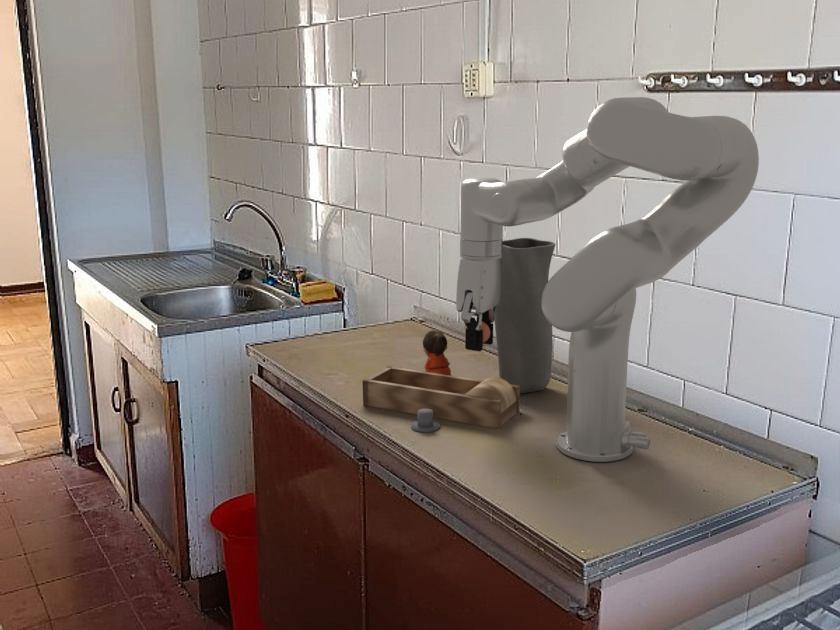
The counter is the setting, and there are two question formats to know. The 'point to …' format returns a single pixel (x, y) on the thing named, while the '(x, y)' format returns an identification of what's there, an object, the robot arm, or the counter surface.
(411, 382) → the wooden trough
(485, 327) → the ball
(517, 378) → the vase
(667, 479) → the counter surface
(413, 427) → the stand
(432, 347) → the figurine
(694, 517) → the counter surface
